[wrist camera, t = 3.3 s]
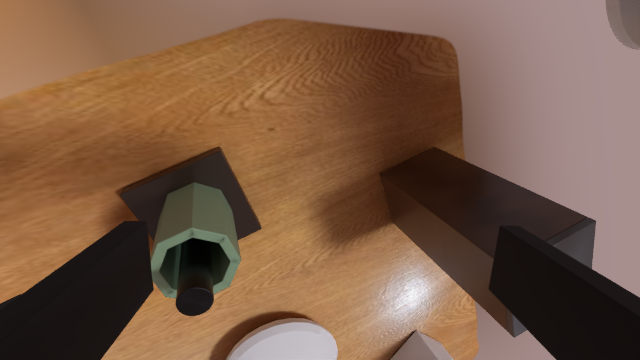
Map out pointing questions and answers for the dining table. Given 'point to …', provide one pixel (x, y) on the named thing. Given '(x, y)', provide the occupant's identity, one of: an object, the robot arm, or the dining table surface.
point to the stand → (476, 221)
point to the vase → (286, 342)
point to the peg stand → (194, 252)
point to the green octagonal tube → (195, 236)
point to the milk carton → (421, 349)
